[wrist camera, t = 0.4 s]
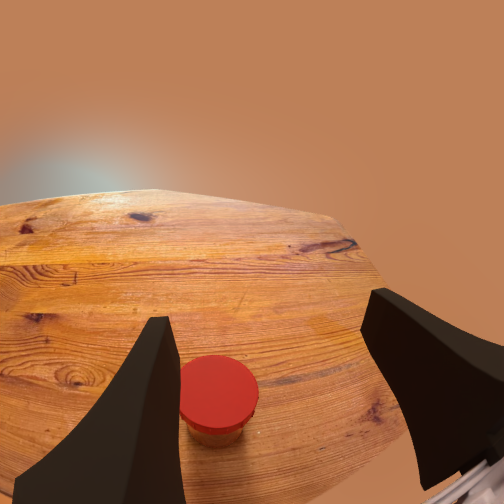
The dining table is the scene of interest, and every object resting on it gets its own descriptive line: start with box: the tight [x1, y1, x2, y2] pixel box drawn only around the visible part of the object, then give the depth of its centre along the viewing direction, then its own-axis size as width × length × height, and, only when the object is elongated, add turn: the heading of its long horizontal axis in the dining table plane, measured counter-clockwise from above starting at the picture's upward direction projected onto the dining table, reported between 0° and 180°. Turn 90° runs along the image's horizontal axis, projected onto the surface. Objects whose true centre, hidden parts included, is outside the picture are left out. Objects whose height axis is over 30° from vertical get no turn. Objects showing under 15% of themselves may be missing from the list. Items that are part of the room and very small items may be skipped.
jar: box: [187, 424, 244, 448], centre depth 20 cm, size 5×5×8 cm
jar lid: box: [179, 355, 259, 435], centre depth 18 cm, size 6×6×2 cm
